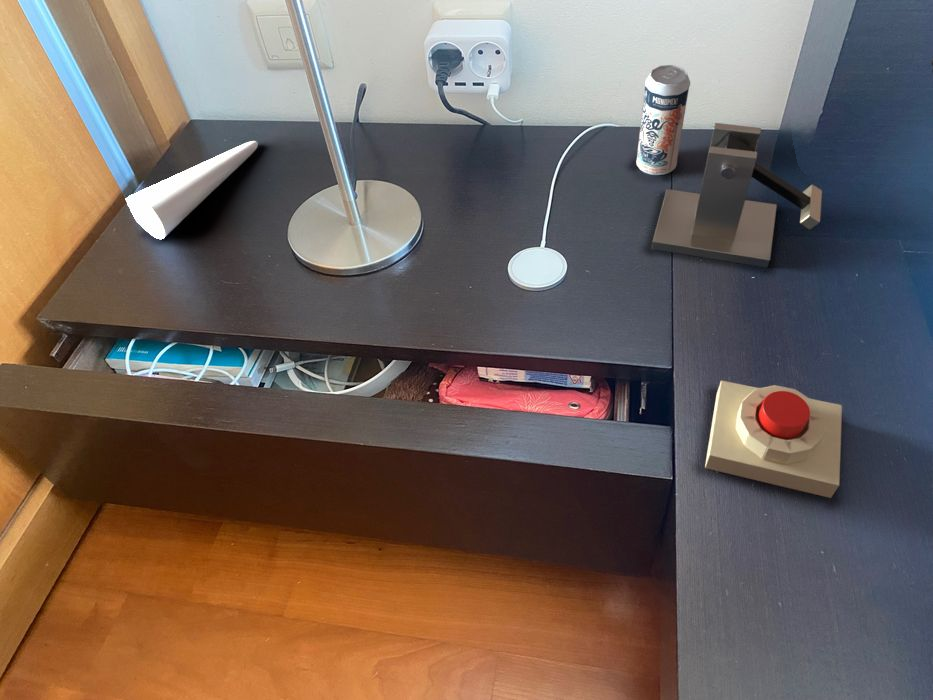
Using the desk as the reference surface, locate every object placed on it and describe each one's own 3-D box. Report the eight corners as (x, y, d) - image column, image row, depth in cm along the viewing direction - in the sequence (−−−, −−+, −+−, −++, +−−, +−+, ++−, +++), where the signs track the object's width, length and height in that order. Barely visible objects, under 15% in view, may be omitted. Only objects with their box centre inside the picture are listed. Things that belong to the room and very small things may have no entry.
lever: (808, 201, 76) (826, 187, 74) (805, 233, 73) (824, 219, 71) (715, 141, 74) (731, 124, 72) (708, 170, 71) (725, 154, 69)
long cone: (291, 171, 96) (171, 245, 85) (259, 160, 99) (140, 230, 88) (278, 131, 92) (152, 203, 81) (246, 121, 95) (120, 189, 85)
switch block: (834, 419, 63) (848, 392, 60) (831, 498, 59) (846, 474, 56) (716, 394, 66) (725, 367, 63) (704, 468, 61) (713, 443, 58)
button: (805, 408, 60) (811, 395, 59) (802, 443, 58) (809, 432, 57) (760, 398, 61) (764, 386, 60) (756, 433, 59) (761, 421, 58)
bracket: (774, 212, 80) (803, 120, 71) (767, 268, 75) (797, 176, 66) (665, 197, 84) (679, 106, 74) (651, 249, 78) (665, 159, 69)
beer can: (628, 170, 87) (638, 79, 78) (647, 149, 89) (659, 58, 80) (664, 183, 85) (678, 91, 76) (683, 161, 87) (699, 69, 78)
